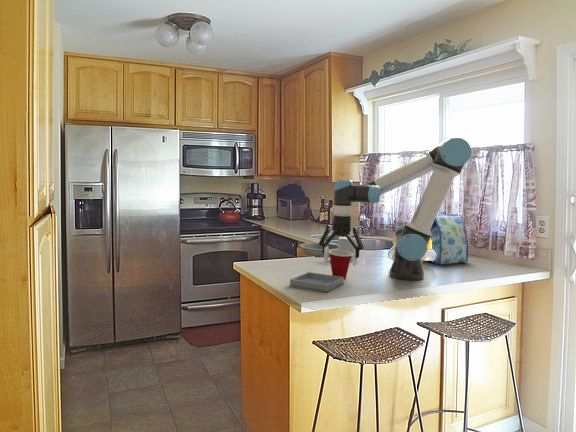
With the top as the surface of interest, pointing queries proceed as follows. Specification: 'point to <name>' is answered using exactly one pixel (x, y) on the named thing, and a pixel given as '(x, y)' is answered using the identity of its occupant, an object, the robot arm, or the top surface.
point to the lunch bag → (449, 239)
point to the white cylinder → (346, 245)
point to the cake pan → (316, 249)
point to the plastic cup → (340, 262)
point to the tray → (317, 282)
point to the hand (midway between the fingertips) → (340, 263)
